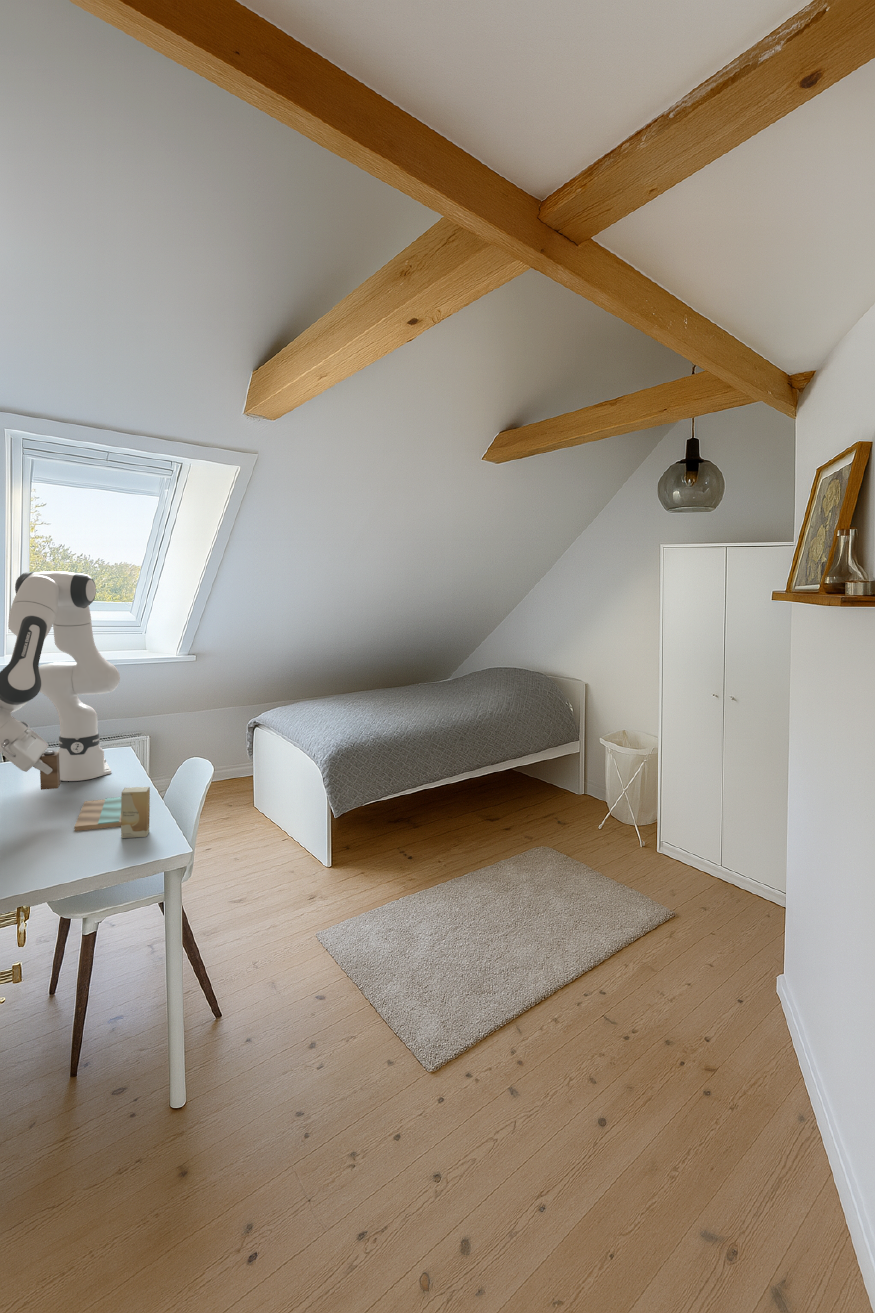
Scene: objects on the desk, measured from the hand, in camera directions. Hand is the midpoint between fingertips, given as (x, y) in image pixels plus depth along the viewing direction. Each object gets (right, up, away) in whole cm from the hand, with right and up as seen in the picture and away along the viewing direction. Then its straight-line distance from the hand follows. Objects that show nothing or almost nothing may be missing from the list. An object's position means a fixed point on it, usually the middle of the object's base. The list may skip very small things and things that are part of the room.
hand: (52, 769), depth 173 cm
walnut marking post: (-1, -5, 0) cm, 5 cm away
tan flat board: (+13, -14, +6) cm, 20 cm away
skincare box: (+27, -16, -9) cm, 33 cm away
